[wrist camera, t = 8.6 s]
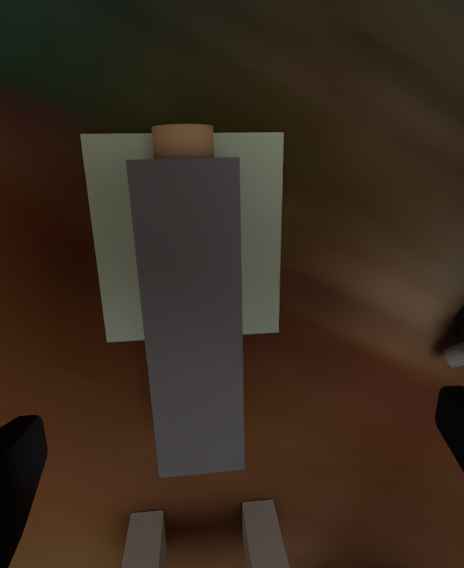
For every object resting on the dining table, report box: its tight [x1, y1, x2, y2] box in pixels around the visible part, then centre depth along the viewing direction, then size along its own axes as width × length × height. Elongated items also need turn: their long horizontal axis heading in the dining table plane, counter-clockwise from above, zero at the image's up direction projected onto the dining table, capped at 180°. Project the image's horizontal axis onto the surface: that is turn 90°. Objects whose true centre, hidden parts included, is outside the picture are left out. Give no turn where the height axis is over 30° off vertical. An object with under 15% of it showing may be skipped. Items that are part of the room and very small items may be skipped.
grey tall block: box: [126, 124, 245, 478], centre depth 17 cm, size 15×4×4 cm, turn 1°
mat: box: [80, 132, 284, 342], centre depth 18 cm, size 10×9×1 cm
